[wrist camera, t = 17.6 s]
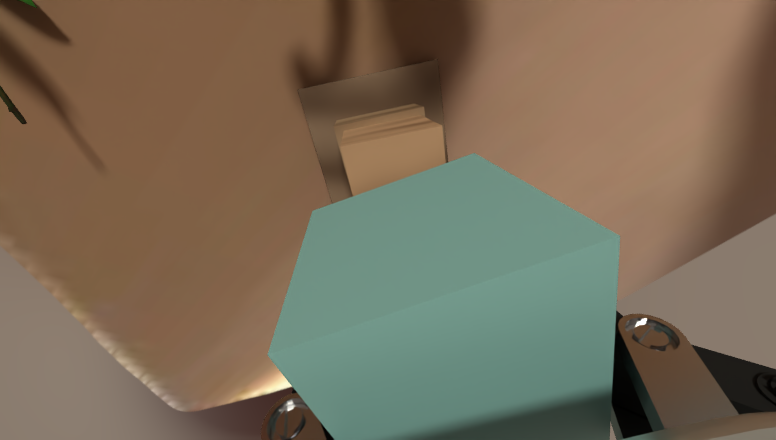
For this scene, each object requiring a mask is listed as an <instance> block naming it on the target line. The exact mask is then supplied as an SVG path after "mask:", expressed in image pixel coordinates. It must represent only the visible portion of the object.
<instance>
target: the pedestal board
mask: <svg viewBox="0 0 776 440" xmlns="http://www.w3.org/2000/svg"><path fill="white" fill-rule="evenodd" d="M298 93H299V97H300V100H301V103H302V106H303V110H304V113H305V116H306V119H307V123H308V126H309V129H310V132H311V136H312V139H313V142H314V145H315V149H316V152H317V155H318V158H319V162H320V165H321V168H322V171H323V175H324V178H325V181H326V184H327V188H328V191H329V194H330V197H331V201H332V204H333V203H336V202H339V201H342V200H345V199H347V198H350V197H353V195H352V191H351V187H350V183H349V179H348V175H347V171H346V167H345V163H344V159H343V156H342V152H341V148H340V146H341V141H342V137H343V132H344V131H346V130H351V129H356V128H360V127H365V126H370V125H375V124H380V123H385V122H390V121H394V120H399V119H404V118H409V117H414V116H419V115H421V116H424V117H426V118H428V119H430V120H432V121H434V122H436V123H438V124H440V125H442V127H443V138H444V149H445V160H446V163H448V155H447V145H446V135H445V125H444V116H443V106H442V96H441V86H440V76H439V66H438V59H436V60H432V61H427V62H422V63H418V64H413V65H409V66H404V67H400V68H395V69H390V70H386V71H381V72H377V73H372V74H367V75H363V76H358V77H354V78H349V79H345V80H340V81H335V82H331V83H326V84H322V85H317V86H312V87H308V88H303V89H299V90H298Z"/></svg>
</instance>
